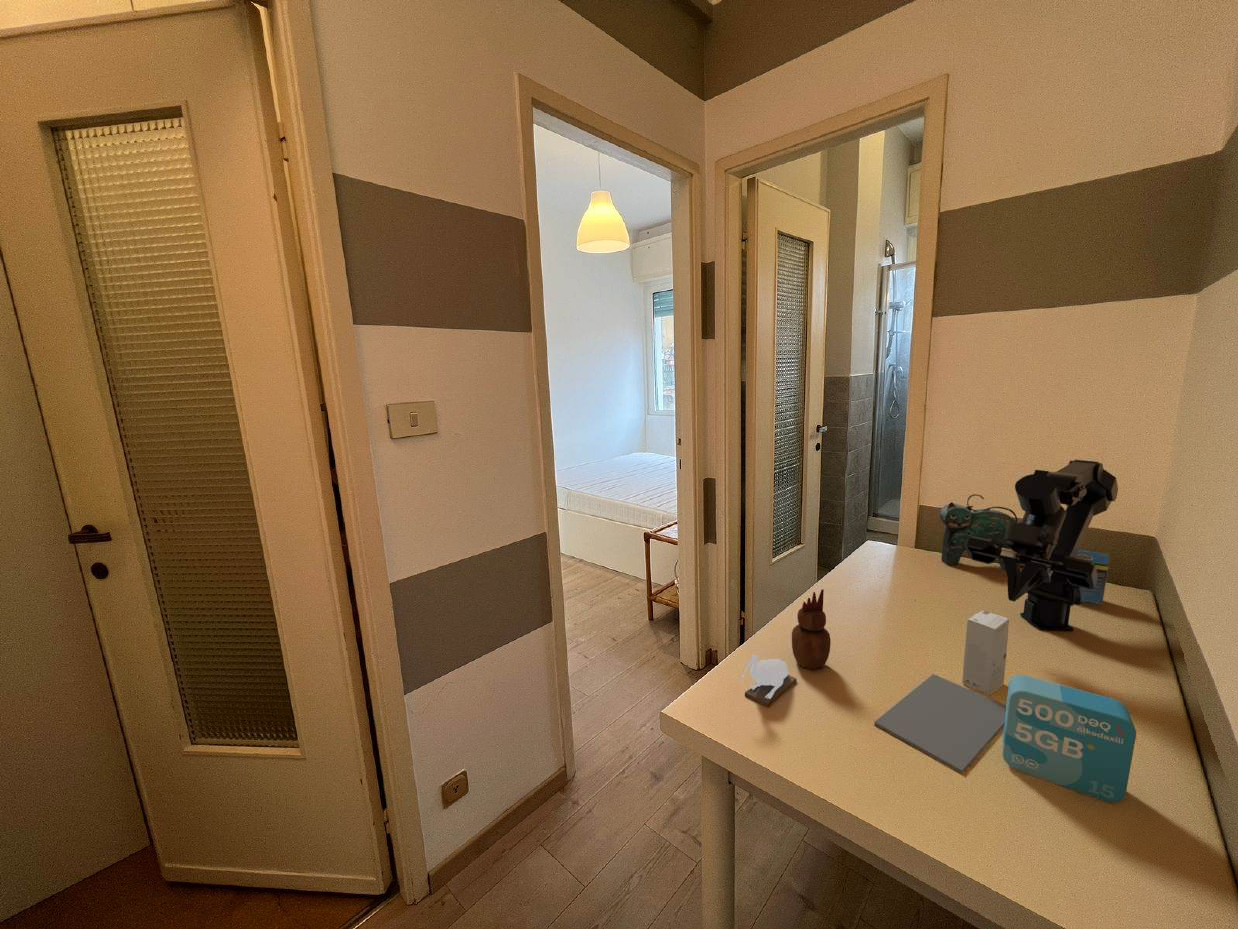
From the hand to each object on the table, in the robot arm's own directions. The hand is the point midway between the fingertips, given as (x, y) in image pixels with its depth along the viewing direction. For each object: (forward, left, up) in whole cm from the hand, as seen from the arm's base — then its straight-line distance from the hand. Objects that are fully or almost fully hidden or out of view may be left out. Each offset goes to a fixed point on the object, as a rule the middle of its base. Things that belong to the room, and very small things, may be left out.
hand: (1011, 600), depth 89 cm
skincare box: (+7, +7, -13) cm, 16 cm away
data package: (+8, +27, -13) cm, 31 cm away
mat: (+18, +17, -12) cm, 28 cm away
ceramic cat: (-20, -49, -13) cm, 55 cm away
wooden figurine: (+35, +4, -13) cm, 38 cm away
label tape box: (-31, -29, -13) cm, 44 cm away
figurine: (+45, +14, -13) cm, 49 cm away
